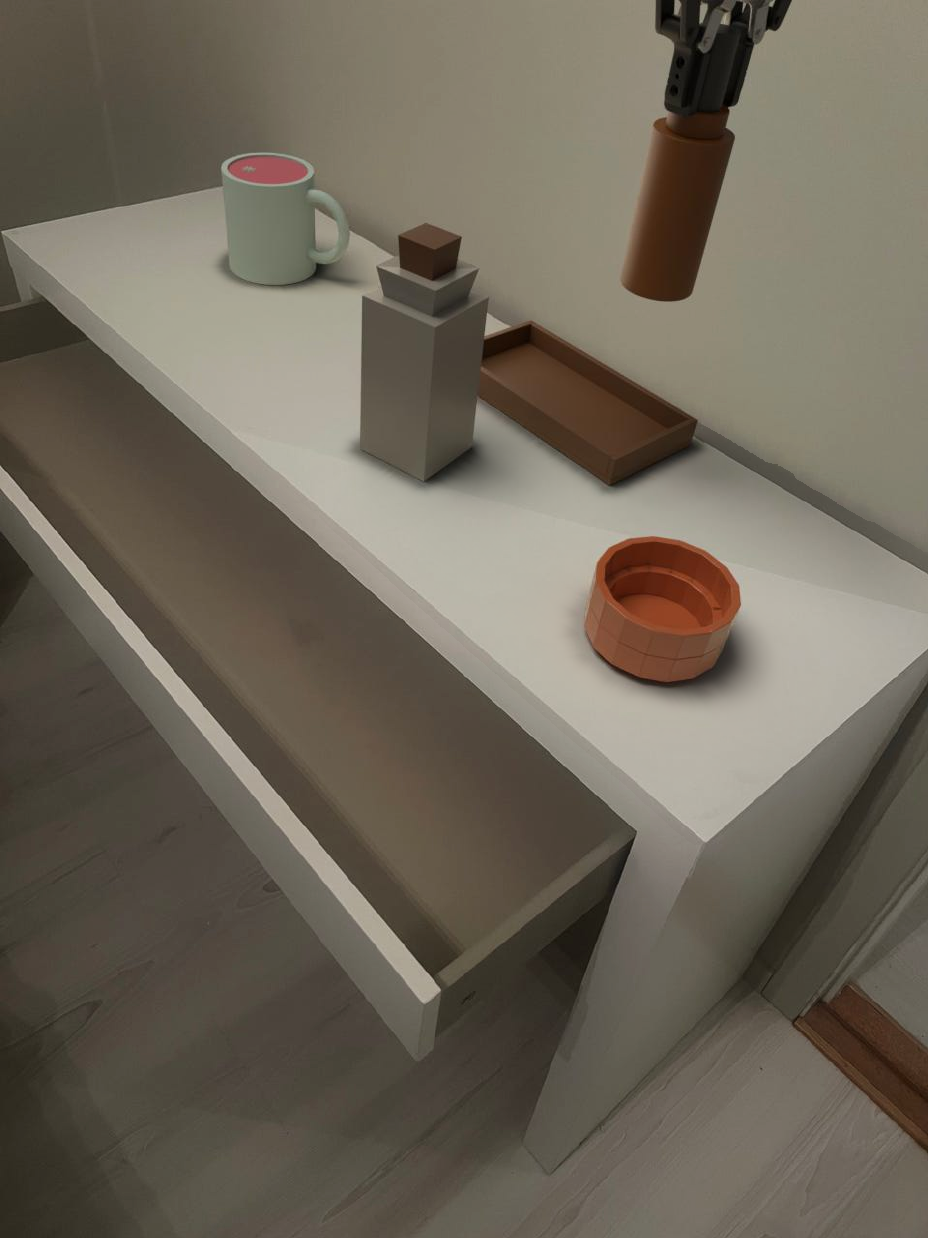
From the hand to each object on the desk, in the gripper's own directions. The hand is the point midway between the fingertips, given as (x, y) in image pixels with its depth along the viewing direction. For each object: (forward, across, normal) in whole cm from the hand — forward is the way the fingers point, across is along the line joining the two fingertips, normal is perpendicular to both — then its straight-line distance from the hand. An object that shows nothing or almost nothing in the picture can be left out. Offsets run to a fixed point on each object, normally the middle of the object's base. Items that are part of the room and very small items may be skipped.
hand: (700, 106), depth 62 cm
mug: (+28, -4, +43) cm, 51 cm away
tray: (+27, +1, +7) cm, 28 cm away
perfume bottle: (+28, -14, +10) cm, 33 cm away
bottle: (+12, 0, 0) cm, 12 cm away
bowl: (+27, -16, -17) cm, 36 cm away
